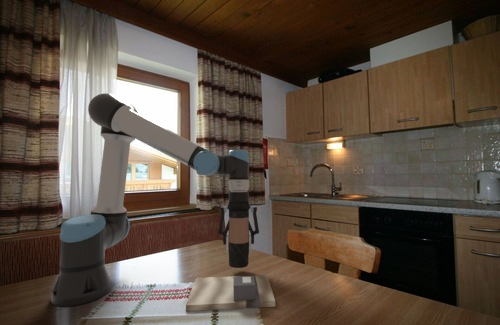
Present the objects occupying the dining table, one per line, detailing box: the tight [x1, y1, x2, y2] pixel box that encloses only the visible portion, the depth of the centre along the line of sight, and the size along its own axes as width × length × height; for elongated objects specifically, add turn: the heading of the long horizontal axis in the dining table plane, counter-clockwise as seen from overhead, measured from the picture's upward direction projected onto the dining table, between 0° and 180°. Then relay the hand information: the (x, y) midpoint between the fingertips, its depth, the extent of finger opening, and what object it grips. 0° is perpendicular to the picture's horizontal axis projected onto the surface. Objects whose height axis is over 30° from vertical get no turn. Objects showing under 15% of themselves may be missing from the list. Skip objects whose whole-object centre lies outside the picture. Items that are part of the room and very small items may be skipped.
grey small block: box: [233, 275, 256, 301], centre depth 71 cm, size 6×6×4 cm
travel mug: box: [228, 209, 250, 269], centre depth 93 cm, size 8×8×20 cm
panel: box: [185, 274, 276, 312], centre depth 76 cm, size 24×18×2 cm
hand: (238, 253), depth 93 cm, fingers closed on travel mug, 8 cm apart
